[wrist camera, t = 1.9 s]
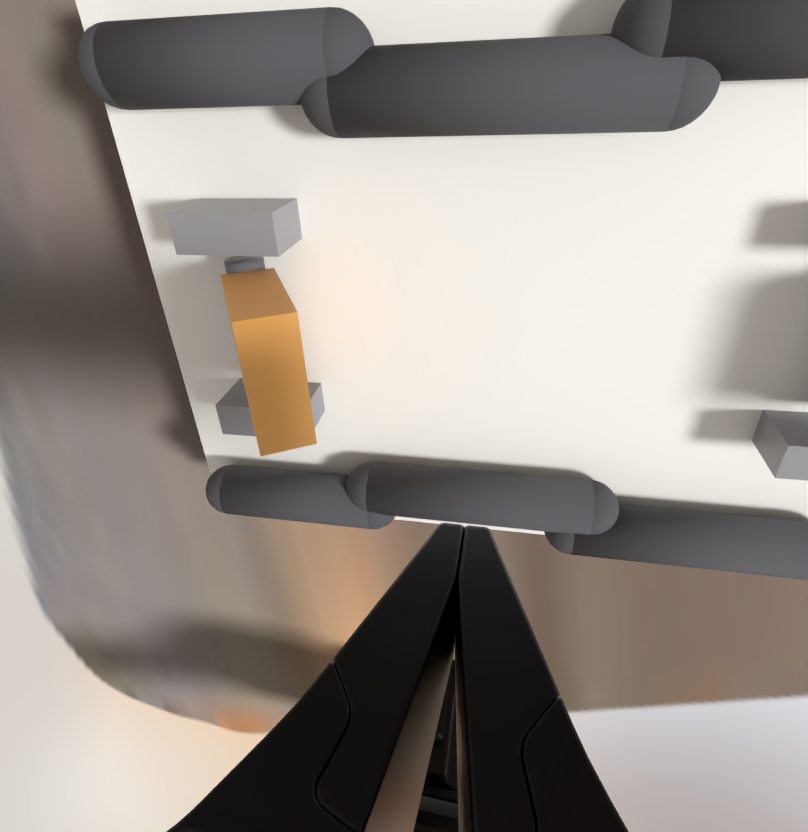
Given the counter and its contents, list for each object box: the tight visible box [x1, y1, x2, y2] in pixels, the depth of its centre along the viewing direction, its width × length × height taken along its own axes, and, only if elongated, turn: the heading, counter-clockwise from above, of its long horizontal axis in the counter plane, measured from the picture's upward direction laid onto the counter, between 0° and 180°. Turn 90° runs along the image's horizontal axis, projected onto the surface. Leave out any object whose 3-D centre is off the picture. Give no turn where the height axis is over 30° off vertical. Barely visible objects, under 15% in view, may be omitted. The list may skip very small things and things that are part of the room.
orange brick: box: [220, 256, 317, 456], centre depth 16 cm, size 4×2×5 cm, turn 2°
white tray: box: [75, 0, 808, 535], centre depth 18 cm, size 18×24×5 cm
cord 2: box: [206, 461, 808, 580], centre depth 20 cm, size 3×24×2 cm, turn 92°
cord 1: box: [77, 0, 808, 138], centre depth 13 cm, size 3×24×2 cm, turn 92°
